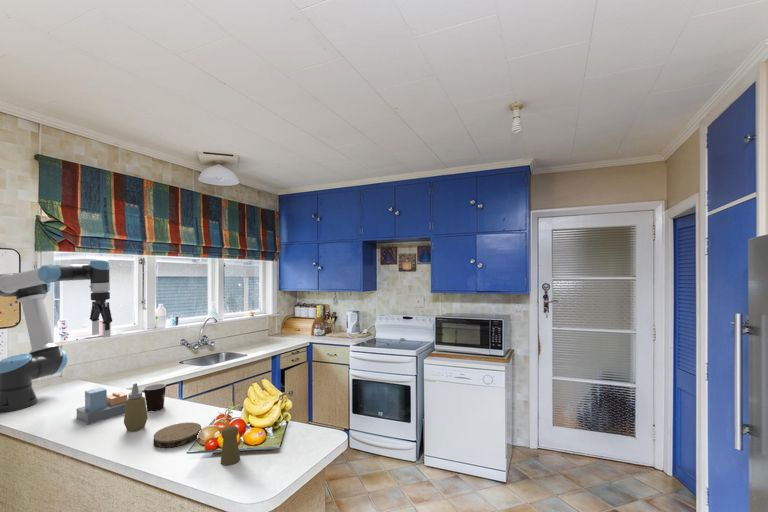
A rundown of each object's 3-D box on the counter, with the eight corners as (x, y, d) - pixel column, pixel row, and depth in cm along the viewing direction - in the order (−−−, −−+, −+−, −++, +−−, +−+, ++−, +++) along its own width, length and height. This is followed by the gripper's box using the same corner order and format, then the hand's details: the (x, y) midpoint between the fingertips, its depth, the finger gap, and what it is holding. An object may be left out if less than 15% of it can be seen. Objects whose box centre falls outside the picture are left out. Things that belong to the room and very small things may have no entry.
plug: (85, 417, 168) (84, 391, 169) (101, 413, 173) (101, 387, 173) (90, 420, 165) (90, 393, 165) (107, 416, 170) (106, 389, 170)
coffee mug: (156, 413, 172) (155, 390, 172) (139, 412, 173) (139, 389, 174) (175, 403, 183) (175, 382, 183) (159, 402, 185) (159, 381, 185)
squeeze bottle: (152, 426, 158) (151, 381, 158) (134, 434, 150) (133, 387, 150) (137, 423, 161) (136, 380, 161) (118, 432, 153) (117, 386, 153)
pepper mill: (223, 456, 131) (223, 424, 131) (242, 455, 132) (241, 422, 132) (217, 466, 125) (217, 431, 125) (237, 465, 126) (236, 430, 126)
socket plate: (87, 424, 161) (87, 414, 161) (76, 417, 169) (76, 408, 169) (135, 410, 176) (135, 401, 176) (123, 404, 183) (123, 396, 183)
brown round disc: (168, 453, 135) (168, 444, 135) (144, 443, 144) (144, 434, 144) (210, 435, 149) (210, 427, 149) (186, 426, 157) (186, 419, 157)
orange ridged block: (110, 405, 171) (110, 397, 171) (105, 403, 175) (104, 394, 175) (127, 401, 176) (127, 392, 176) (121, 398, 180) (121, 390, 180)
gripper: (81, 291, 193) (82, 334, 193) (101, 293, 178) (102, 339, 178) (99, 290, 199) (100, 332, 199) (119, 291, 184) (120, 336, 184)
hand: (101, 335), depth 188 cm, fingers open, 13 cm apart
